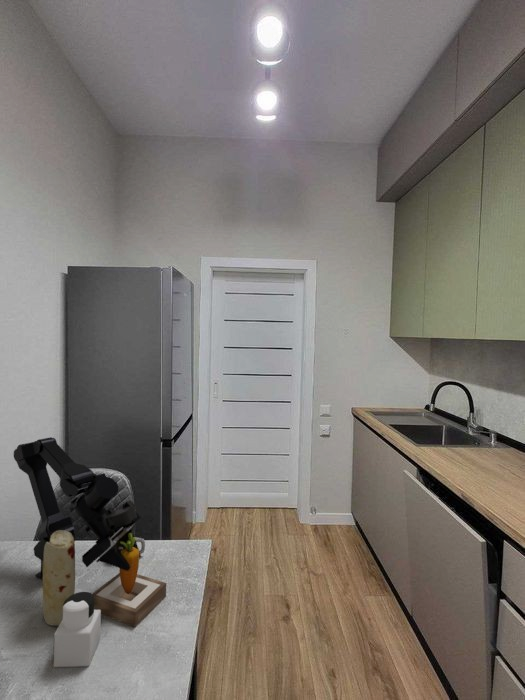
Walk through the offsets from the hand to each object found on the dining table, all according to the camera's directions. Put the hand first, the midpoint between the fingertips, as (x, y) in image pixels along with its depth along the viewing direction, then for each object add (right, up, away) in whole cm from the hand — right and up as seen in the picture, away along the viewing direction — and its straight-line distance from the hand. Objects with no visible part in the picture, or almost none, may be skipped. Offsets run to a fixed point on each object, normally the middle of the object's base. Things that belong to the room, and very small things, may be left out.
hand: (134, 563), depth 99 cm
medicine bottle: (-7, -11, -16) cm, 20 cm away
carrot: (-2, -8, +1) cm, 8 cm away
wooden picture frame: (-2, -10, 0) cm, 10 cm away
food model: (-16, -10, -5) cm, 20 cm away
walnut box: (-2, -10, 0) cm, 10 cm away
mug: (-9, -10, +20) cm, 24 cm away
